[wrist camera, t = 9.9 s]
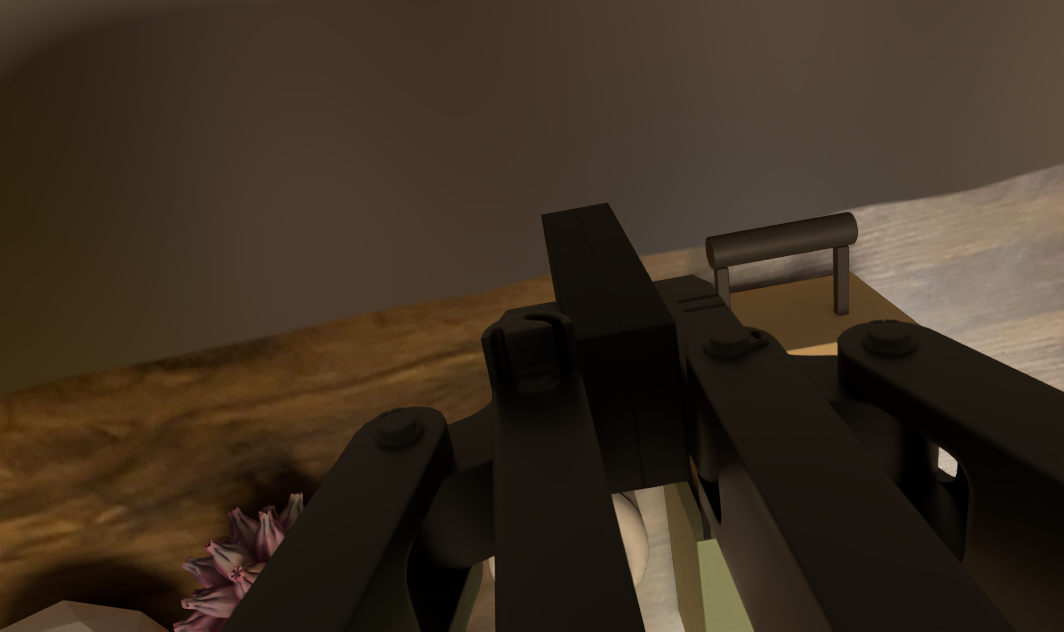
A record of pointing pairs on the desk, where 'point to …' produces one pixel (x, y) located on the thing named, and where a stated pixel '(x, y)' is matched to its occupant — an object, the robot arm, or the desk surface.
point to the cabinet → (701, 570)
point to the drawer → (798, 288)
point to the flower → (234, 565)
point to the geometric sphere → (85, 620)
